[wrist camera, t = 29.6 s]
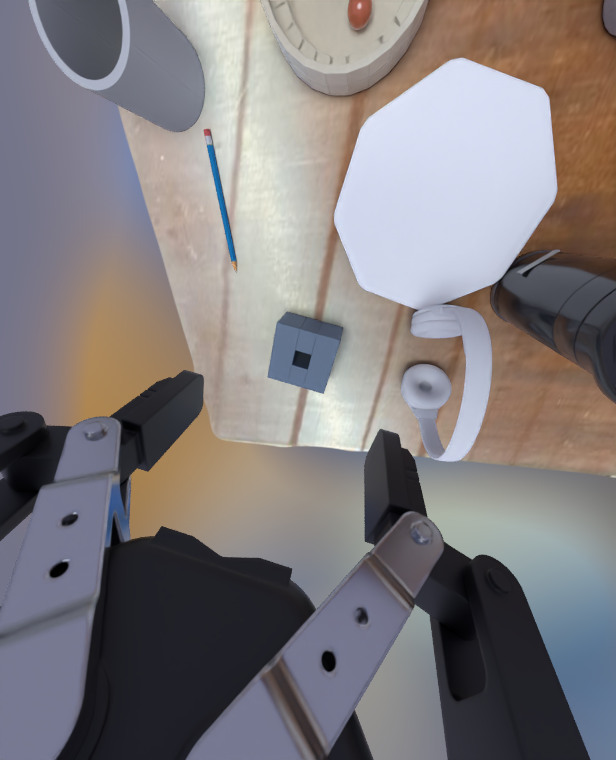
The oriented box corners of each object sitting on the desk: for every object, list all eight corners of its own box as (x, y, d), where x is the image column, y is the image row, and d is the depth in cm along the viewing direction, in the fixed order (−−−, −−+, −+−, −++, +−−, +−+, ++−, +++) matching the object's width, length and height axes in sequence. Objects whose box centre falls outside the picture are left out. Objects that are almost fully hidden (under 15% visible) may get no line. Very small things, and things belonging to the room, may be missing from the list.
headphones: (465, 288, 37) (551, 337, 20) (438, 397, 46) (481, 496, 29) (412, 288, 38) (450, 334, 21) (395, 394, 47) (413, 487, 30)
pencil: (210, 130, 34) (208, 128, 33) (239, 272, 42) (237, 273, 41) (205, 131, 34) (202, 129, 33) (234, 272, 42) (232, 273, 42)
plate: (317, 270, 40) (315, 271, 38) (390, 38, 27) (391, 29, 26) (464, 325, 40) (467, 329, 38) (602, 119, 27) (614, 114, 26)
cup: (135, 117, 34) (38, 69, 24) (133, 11, 30) (12, -104, 19) (200, 142, 35) (131, 106, 24) (208, 41, 30) (127, -57, 20)
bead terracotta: (378, -10, 25) (363, 22, 27) (357, -29, 24) (343, 6, 26) (376, 12, 25) (361, 43, 27) (355, -5, 24) (341, 28, 26)
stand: (343, 327, 43) (340, 340, 38) (327, 376, 48) (323, 393, 43) (287, 311, 44) (276, 322, 38) (277, 361, 48) (267, 377, 43)
